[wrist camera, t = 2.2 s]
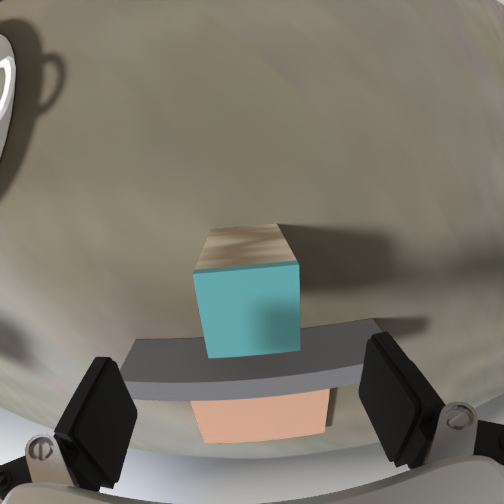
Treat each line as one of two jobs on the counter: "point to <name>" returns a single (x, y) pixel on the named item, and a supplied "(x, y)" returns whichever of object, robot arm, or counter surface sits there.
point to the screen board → (247, 366)
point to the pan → (6, 88)
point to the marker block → (248, 292)
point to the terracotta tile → (262, 417)
